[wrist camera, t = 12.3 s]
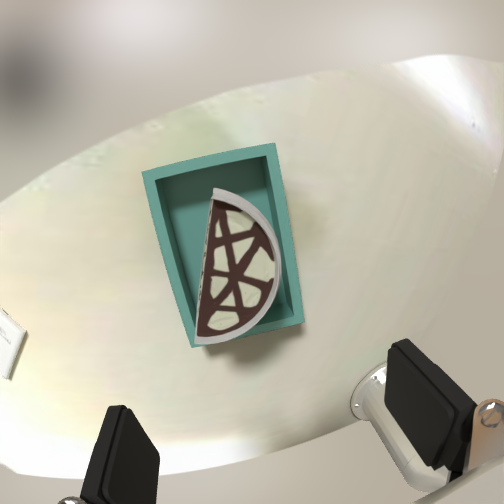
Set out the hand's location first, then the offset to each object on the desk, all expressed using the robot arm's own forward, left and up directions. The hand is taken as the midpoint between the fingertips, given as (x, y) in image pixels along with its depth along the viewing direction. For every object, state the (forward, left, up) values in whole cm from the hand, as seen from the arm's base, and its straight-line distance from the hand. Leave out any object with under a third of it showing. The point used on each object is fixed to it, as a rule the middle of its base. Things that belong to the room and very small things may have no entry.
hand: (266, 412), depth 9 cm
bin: (0, 0, -24) cm, 24 cm away
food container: (-1, 0, -23) cm, 23 cm away
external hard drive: (+37, +6, -25) cm, 45 cm away
